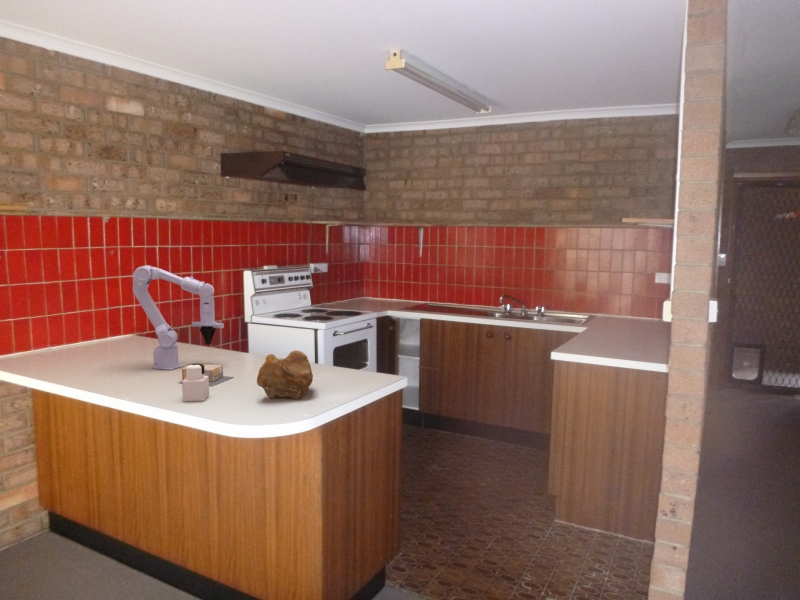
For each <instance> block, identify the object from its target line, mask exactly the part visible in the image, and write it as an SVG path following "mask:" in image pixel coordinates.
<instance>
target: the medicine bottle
mask: <svg viewBox="0 0 800 600" xmlns="http://www.w3.org/2000/svg"><path fill="white" fill-rule="evenodd" d="M204 365H205V364H204ZM204 365H203V363H197V362H196V363H195V362H194V363H189V364H187V365H186V366H185V367H186V377H187V378H186V379H184V380H182V383H181V384H182V401H183V402H204V401H206V399H207V398H208V397H209V395H210V386H209V377H208V376H204V375H205V370H204Z"/></svg>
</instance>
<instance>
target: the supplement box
mask: <svg viewBox="0 0 800 600" xmlns="http://www.w3.org/2000/svg"><path fill="white" fill-rule="evenodd" d="M202 364H203V363H202ZM203 365H204V370H205V375H204V376H208V377H209V381H215V380H217V379H219V378H221V377H223V376H224V366H223V364H222V365H219V364H203ZM181 378H182V379H181V380H182V381H183V380H184V379H186V378H187V377H186V366H183V367H182V368H181Z"/></svg>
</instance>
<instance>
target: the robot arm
mask: <svg viewBox="0 0 800 600" xmlns="http://www.w3.org/2000/svg"><path fill="white" fill-rule="evenodd" d="M194 278H195V277H193V276H185V277H182V276H178V275H176V274H174V273H172V272H170V271H167V270H164V269H162V268H159V267H156V266H152V265H148V264H145V265H142V266H139V267H137V268H135V270H134V272H133V274H132V292H133V295H134V296H135V297H136V300H137V301H138V303H139V304H140V306H141V307H142V309H143V311H144V312H145V314H146V317H147V318H148V319H149V321H150V323H151V325H152V326H153V328H154V329H155V330H154V331H155V334H156V336H157V341H158V344H159V346H156V347H155V348H154V350H153V355H152V356H153V366H152V369H157V370H167V371H171V370H174V369H175V370H176V369H179V368H181V367H184V364H179V347H178V346H179V345H178V343H177V341H178V338H179V335H178V333H177V332H176V330H174V329H172V327H171V326H170V325H169V323H167V321H166V320H165V318H164V317H163V315H162V313H161V311H160V309H159V308H158V306H157V304H156V303H155V301H154V299H153V298H152V296H151V294H150V292H149V290H148V288H149V286H150V283H151V281H153V280H160V279H161V280H164V281H167V282H168V283H169V282H170V283H172V284H175V285H179V286H180V288H181V289H182V290H184V291H186V292H189V293H191V294H194V295H196V296H197V295H198V296H199V299H200V300H199V301H200V302H199V311H200V321H192V322H191V327H193V328H196V327H198V328H199V332H200V333H201V335H202V337H203V339H204V344H205V345H209V346H210V345H212V342H213V337H214V335H215V332H216V331H217V329H224V328H225V323H223V322H217V321H216V319H215V317H216V316H215V297H214V293H215V288H214V287H213V285H212V284H210V283H208V282H206V283H205V281H201V280H198V279H194Z"/></svg>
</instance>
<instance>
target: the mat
mask: <svg viewBox="0 0 800 600" xmlns="http://www.w3.org/2000/svg"><path fill="white" fill-rule="evenodd" d="M233 378H235V377H234V376H227V375H223V377H221V378H219V379H217V380H215V381H209V387H214V386H217V385H219V384H222V383H224V382H226V381H229V380H231V379H233ZM182 381H183V380H182ZM182 381H178V384H182Z"/></svg>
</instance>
